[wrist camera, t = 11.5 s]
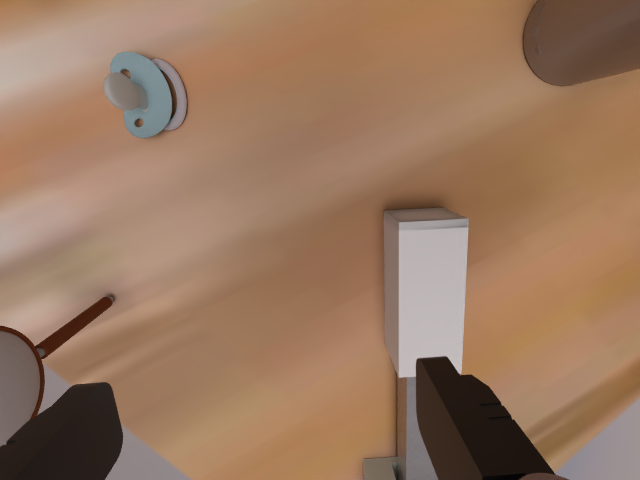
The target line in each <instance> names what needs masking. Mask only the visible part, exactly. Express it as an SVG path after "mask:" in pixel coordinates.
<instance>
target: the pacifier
mask: <svg viewBox="0 0 640 480" xmlns="http://www.w3.org/2000/svg"><path fill="white" fill-rule="evenodd" d="M124 69H127V70H128V71H129V72H130V74H131V77H130V78H128V77H127V76H125V75H124V74H122V70H124ZM160 70H162V71H164V72H165V73H166V74H167V75H168V77H169V78H170V79H171V81H172V83H173V85H174V88H175V91H176V96H177V109H176V113H175V115H174V117H173V118H172V119H171V120H170V117H171V113H172V97H171V92H170V89H169V86H168V83H167V81H166V79H165V77H164V75H163V74H162V72H161V71H160ZM110 71H111V74H109V75H108V76H107V77H106V78H105V80H104V83H103V90H104V94H105V96H106V98H107V99H108V101H109V102H110V103H111V104H112V105H114V106H115V107H117V108H119V109H122V110H125V111H124V121H125V125H126V127H127V130H128V131H129V132H130V133H131V134H132V135H133V136H136V137H139V138H148V137H152V136H154V135H156V134H158V133H159V132H161V131H162V130H163V129H165V130H174V129H176V128H178V127H179V126H180V125H181V124H182V122H183V120H184V118H185V115H186V110H187V99H186V93H185V89H184V86H183V83H182V81H181V79H180V77H179V75H178V73H177V72H176V71H175V69H174V68H173V67H172V66H171V65H170V64H169V63H167V62H166V61H164V60H161V59H152V60H149V59H148V58H146V57H144V56H142V55H139V54H137V53H133V52H121V53H119V54H117V55H116V56H115V57H114V58H113V59H112V62H111V68H110ZM140 118H141V119H142V120H143V125H142V126H141V127H137V126H136V120H137V119H140Z"/></svg>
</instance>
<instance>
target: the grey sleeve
mask: <svg viewBox="0 0 640 480" xmlns="http://www.w3.org/2000/svg"><path fill="white" fill-rule="evenodd" d="M468 225H469V218H466V217H464V216H461V215H459V214H457V213H454V212H452V211H449V210H447V209H445V208H442V207H439V208H421V209H403V210H386V211H384V307H385V345H386V347H387V350H388V352H389V355H390V357H391V360H392V362H393V365H394V367H395V370H396V372H397V375H398V377H399V378H402V377H416V360H417V359H418V358H427V357H440V356H447V357H448V358H449V360H450V361H451V363H452V364H453V366H454V367H455V369H456V370H457V371H458V373H459V374H461V372H462V351H463V330H464V309H465V288H466V267H467V246H468Z"/></svg>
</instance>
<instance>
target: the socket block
mask: <svg viewBox="0 0 640 480" xmlns="http://www.w3.org/2000/svg"><path fill="white" fill-rule="evenodd" d="M363 476H364V480H397V457H386V458H371V459H363Z"/></svg>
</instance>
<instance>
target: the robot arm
mask: <svg viewBox="0 0 640 480" xmlns="http://www.w3.org/2000/svg"><path fill="white" fill-rule="evenodd" d="M524 51H525V55H526V59H527V61H528V63H529V65H530V67H531V69H532V70H533V71H534V73H535V74H536V75H537V76H538V77H540V78H541V79H542V80H543V81H546V82H548V83H550V84H553V85H558V86H571V85H575V84H579V83H583V82H587V81H591V80H595V79H599V78H604V77H608V76H612V75H616V74H620V73H624V72H628V71H632V70H636V69H640V0H538V2H537V3H536V4H535V6H534V7H533V9H532V11H531V13H530V14H529V17H528V20H527V23H526V25H525V31H524ZM416 414H417V421H418V426H419V430H420V434H421V437H422V439H423V442H424V444H425V447H426V450H427V452H428V455H429V457H430V460H431V462H432V465H433V467H434V470H435V473H436V475H437V478H438V480H568V479H566V478H564V477H560V476H558V475H556V474H555V473H554V472H553V470H552V469H551V468H550V466H549V465H548V464H547V463H546V461H545V460H544V459H543V457H542V456H541V455H540V453H539V452H538V451H537V449H536V448H535V447H534V445H533V444H532V443H531V441H530V440H529V439H528V437H527V436H526V435H525V434H524V432H523V431H522V430H521V428H520V427H519V426H518V424H517V423H516V422H515V420H512V418H511V415H510V414H509V412H508V411H507V410H506V408H505V407H504V406H502V405H501V402H500V401H499V399H498V398H497V397H496V395H495V394H494V393H493V391H492V390H491V389H490V387H489V386H487V385H486V384H484V383H483V382H481V381H480V380H478V379H477V378H475V377H474V376H472V375H460V374H459V373H458V371H457V370H456V369H455V367H454V366H453V364H452V363H451V361H450V360H449V358H448V357H447V356H440V357H427V358H418V359H417V360H416ZM122 443H123V432H122V427H121V423H120V419H119V415H118V411H117V407H116V403H115V398H114V394H113V390H112V388H111V386H110V384H108V383H106V382H101V383H89V384H76V385H73V386H72V387H70V388H69V389H68V390H67V391H66V392H65V393H64V394H63V395H62V396H61V397H60V398H59V399H58V400H57V401H56V402H55V403H54V404H53V405H52V406H51V407H49V408H48V409H46V410H45V411H43V412H42V413H40V414H39V415H37V416H36V417H34V418H32V419H31V420H29V421H28V422H26V423H25V424H24V425H23V426H22V427H21V428H20V429H19V430H18V431H17V432H16V433H15V434H14V435H13V436H11V437H10V438H9V439H8V440H7V443H6V445H2V446H1V447H0V480H105V478H106V477H107V475H108V474H109V472H110V470H111V469H112V467H113V465H114V464H115V462H116V461H117V459H118V457H119V454H120V452H121V448H122Z"/></svg>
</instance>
